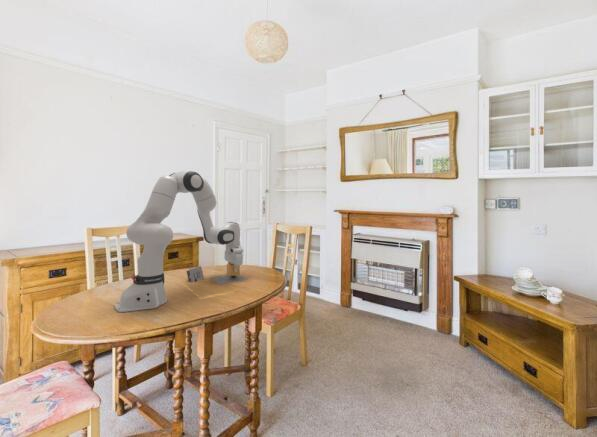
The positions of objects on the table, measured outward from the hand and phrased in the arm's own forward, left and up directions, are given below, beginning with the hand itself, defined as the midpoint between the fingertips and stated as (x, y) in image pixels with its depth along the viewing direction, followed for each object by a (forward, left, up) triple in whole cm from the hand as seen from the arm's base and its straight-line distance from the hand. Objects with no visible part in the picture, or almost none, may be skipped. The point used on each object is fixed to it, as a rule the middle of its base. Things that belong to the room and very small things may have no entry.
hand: (233, 270), depth 196 cm
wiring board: (-4, -3, -6) cm, 8 cm away
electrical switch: (-22, +5, -6) cm, 23 cm away
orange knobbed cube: (0, 0, -3) cm, 3 cm away
